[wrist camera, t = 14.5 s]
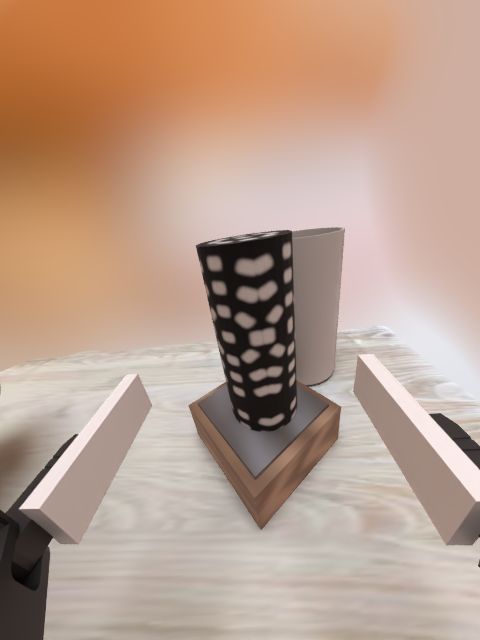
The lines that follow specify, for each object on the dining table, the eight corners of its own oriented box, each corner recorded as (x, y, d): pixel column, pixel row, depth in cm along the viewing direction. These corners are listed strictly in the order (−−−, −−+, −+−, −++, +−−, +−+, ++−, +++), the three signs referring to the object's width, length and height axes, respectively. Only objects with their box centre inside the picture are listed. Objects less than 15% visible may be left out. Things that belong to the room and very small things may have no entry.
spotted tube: (219, 412, 26) (175, 248, 18) (254, 373, 32) (235, 235, 23) (277, 446, 21) (257, 242, 13) (307, 392, 27) (307, 227, 18)
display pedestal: (260, 529, 20) (253, 495, 18) (198, 433, 31) (187, 402, 28) (337, 438, 27) (341, 403, 25) (265, 385, 38) (262, 356, 35)
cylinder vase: (339, 390, 35) (354, 231, 24) (266, 384, 38) (250, 243, 27) (329, 348, 45) (336, 225, 35) (273, 347, 49) (263, 235, 38)
